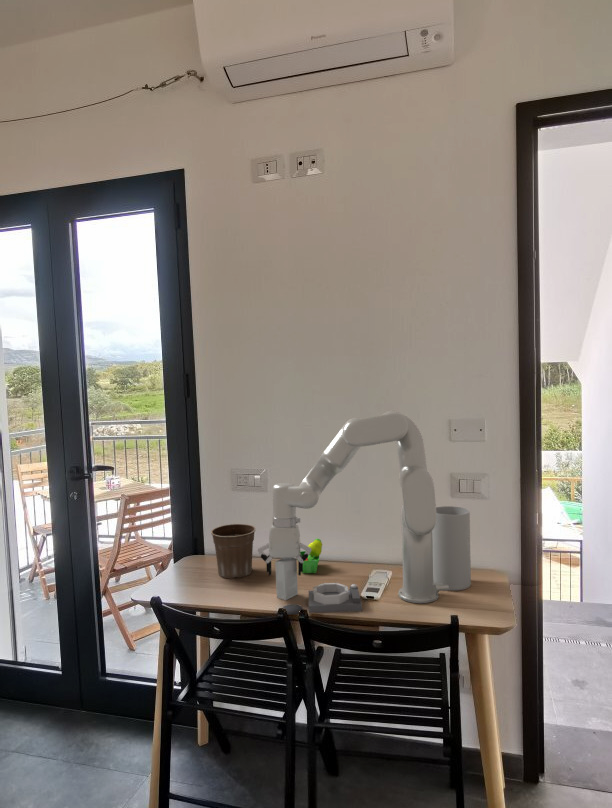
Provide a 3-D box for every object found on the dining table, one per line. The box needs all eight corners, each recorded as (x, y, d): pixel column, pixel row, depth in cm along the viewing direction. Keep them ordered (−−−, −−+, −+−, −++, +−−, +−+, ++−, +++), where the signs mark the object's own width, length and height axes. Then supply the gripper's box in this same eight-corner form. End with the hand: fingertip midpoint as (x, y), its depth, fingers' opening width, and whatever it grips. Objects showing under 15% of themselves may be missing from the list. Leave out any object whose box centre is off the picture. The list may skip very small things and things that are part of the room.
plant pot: (241, 583, 187) (240, 537, 186) (203, 577, 194) (201, 533, 193) (265, 568, 202) (263, 526, 201) (228, 563, 209) (227, 522, 208)
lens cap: (302, 607, 167) (302, 603, 167) (302, 615, 161) (302, 612, 161) (282, 607, 167) (282, 604, 167) (282, 615, 161) (282, 612, 161)
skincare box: (288, 591, 178) (287, 556, 178) (298, 594, 176) (297, 558, 175) (275, 597, 174) (274, 561, 173) (285, 600, 171) (284, 563, 171)
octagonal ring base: (358, 595, 174) (357, 581, 174) (362, 611, 162) (361, 596, 162) (308, 596, 174) (308, 582, 174) (308, 612, 162) (308, 597, 162)
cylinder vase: (456, 575, 189) (455, 504, 188) (478, 588, 177) (477, 512, 176) (425, 580, 185) (423, 508, 184) (445, 593, 173) (444, 516, 172)
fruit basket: (299, 564, 206) (299, 534, 205) (323, 563, 205) (322, 534, 205) (298, 574, 194) (297, 543, 194) (322, 574, 194) (321, 543, 193)
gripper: (310, 518, 178) (311, 569, 178) (258, 519, 178) (259, 570, 178) (311, 524, 170) (311, 578, 171) (256, 525, 170) (257, 578, 171)
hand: (284, 574), depth 175 cm, fingers open, 9 cm apart
